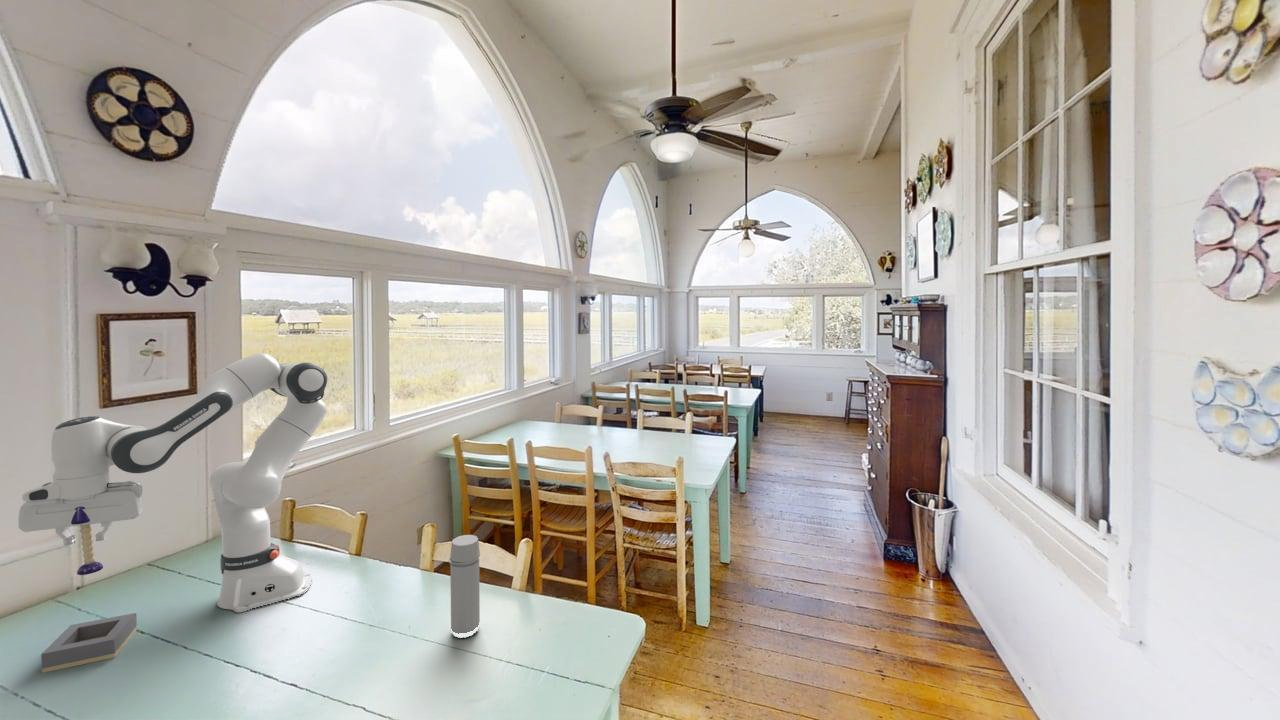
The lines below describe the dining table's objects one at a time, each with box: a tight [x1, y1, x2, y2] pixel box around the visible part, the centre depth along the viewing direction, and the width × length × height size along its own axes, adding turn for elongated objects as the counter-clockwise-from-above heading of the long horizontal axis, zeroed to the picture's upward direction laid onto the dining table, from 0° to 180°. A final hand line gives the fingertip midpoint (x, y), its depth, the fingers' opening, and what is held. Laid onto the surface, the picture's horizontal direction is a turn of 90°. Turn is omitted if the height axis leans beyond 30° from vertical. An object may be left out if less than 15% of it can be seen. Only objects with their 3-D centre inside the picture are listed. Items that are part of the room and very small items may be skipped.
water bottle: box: [447, 534, 481, 634], centre depth 130 cm, size 9×8×25 cm
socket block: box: [40, 612, 138, 673], centre depth 120 cm, size 12×12×4 cm
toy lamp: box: [71, 507, 104, 576], centre depth 118 cm, size 5×5×17 cm
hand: (86, 541), depth 118 cm, fingers closed on toy lamp, 4 cm apart
